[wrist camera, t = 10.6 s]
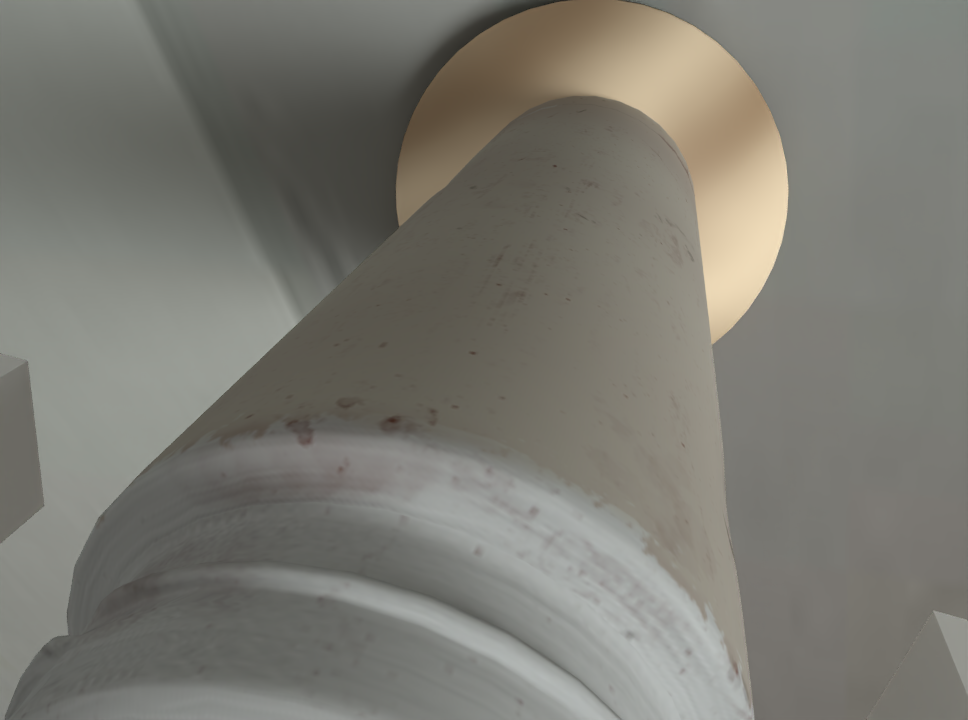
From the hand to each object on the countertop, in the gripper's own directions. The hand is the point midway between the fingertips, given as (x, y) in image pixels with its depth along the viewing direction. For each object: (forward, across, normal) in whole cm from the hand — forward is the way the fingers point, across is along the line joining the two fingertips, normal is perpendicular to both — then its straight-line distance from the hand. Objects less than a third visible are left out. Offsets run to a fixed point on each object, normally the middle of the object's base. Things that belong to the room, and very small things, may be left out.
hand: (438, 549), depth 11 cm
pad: (+20, 0, 0) cm, 20 cm away
